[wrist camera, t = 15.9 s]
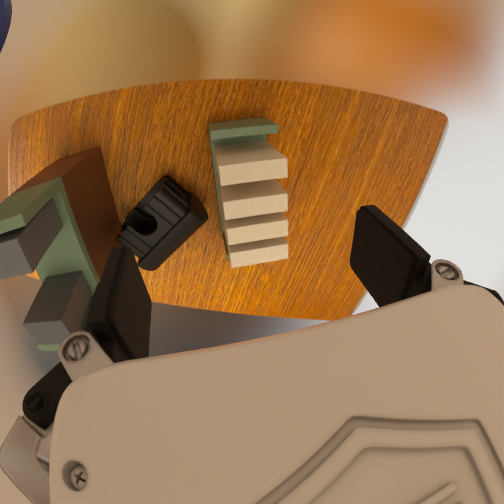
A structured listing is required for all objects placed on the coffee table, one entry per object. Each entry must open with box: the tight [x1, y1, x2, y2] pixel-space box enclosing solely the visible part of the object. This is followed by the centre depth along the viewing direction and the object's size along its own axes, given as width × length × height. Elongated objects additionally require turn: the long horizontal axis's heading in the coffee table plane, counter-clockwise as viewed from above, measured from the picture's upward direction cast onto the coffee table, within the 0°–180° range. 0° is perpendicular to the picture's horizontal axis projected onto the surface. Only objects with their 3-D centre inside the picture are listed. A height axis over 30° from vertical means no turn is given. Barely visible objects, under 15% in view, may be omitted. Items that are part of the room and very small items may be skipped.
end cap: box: [116, 175, 208, 271], centre depth 34 cm, size 10×7×7 cm
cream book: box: [213, 140, 288, 186], centre depth 30 cm, size 2×6×9 cm, turn 94°
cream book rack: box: [208, 117, 288, 268], centre depth 32 cm, size 16×7×10 cm, turn 4°
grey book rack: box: [0, 147, 122, 351], centre depth 25 cm, size 14×7×20 cm, turn 4°
